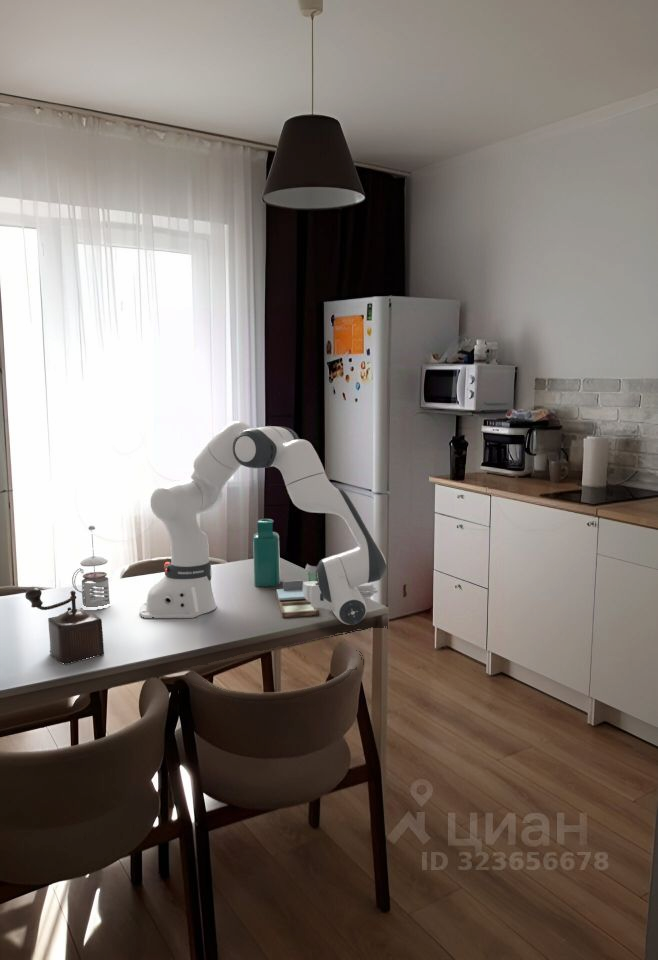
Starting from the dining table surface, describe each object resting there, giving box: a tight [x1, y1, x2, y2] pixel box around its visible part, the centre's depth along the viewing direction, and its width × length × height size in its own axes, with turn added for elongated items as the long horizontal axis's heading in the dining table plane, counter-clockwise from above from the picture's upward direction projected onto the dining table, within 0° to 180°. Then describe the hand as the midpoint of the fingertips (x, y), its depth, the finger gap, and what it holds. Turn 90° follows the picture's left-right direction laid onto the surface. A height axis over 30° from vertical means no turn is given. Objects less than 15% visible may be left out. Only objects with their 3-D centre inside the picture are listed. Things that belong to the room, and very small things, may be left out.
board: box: [275, 591, 319, 619], centre depth 221 cm, size 10×21×1 cm, turn 9°
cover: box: [276, 579, 305, 600], centre depth 227 cm, size 10×10×4 cm
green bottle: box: [252, 518, 281, 588], centre depth 244 cm, size 10×8×22 cm
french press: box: [71, 525, 111, 607], centre depth 223 cm, size 10×12×25 cm
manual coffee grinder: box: [24, 587, 105, 665], centre depth 183 cm, size 16×11×18 cm
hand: (334, 581), depth 216 cm, fingers closed on canister, 5 cm apart
